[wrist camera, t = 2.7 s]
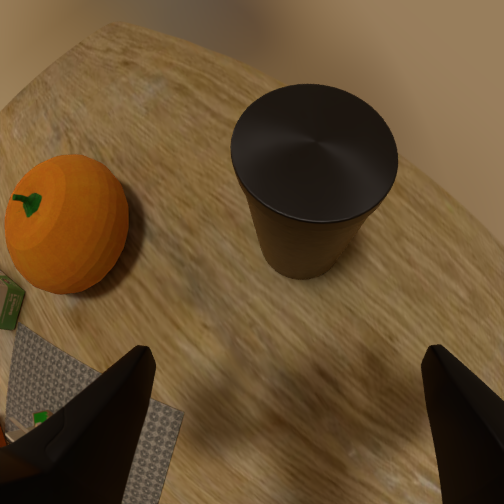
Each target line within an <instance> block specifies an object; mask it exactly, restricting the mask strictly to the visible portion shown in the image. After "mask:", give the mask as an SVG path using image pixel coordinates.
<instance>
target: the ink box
mask: <svg viewBox="0 0 504 504" xmlns="http://www.w3.org/2000/svg"><path fill="white" fill-rule="evenodd" d="M24 293H25V292H24V290H22V289H21V288H20V287H19V286H18V285H16V284H15V283H14V282H13V281H12V280H11V279H10V278H8V277H7V276H6V275H5V274H4V273H3V272H2V271H1V270H0V329H4V330H13V329H14V328H15V324H16V320H17V317H18V313H19V310H20V307H21V303H22V300H23V296H24Z"/></svg>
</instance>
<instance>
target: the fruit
mask: <svg viewBox="0 0 504 504" xmlns="http://www.w3.org/2000/svg"><path fill="white" fill-rule="evenodd" d="M128 229H129V215H128V203H127V200H126V197H125V194H124V191H123V188H122V186H121V184H120V182H119V181H118V180H117V179H116V177H115V176H114V175H113V174H112V173H111V171H110V170H109V169H108V168H107V167H106V166H105V165H103V164H102V163H100V162H98V161H96V160H93V159H91V158H89V157H86V156H84V155H61V156H56V157H54V158H51V159H49V160H46V161H44V162H42V163H40V164H38V165H37V166H35V167H34V168H33V169H31V170H30V171H29V172H28V173H27V174H25V175H24V177H23V178H22V179H21V180H20V182H19V183H18V184H17V186H16V188H15V189H14V191H13V193H12V195H11V197H10V200H9V203H8V206H7V209H6V216H5V237H6V244H7V248H8V251H9V253H10V256H11V258H12V261H13V263H14V265H15V267H16V269H17V270H18V271H19V272H20V274H21V275H22V276H23V277H24V278H25V279H26V280H27V281H28V282H29V283H31V284H32V285H33V286H35V287H37V288H39V289H42V290H45V291H48V292H51V293H54V294H69V293H75V292H81V291H84V290H86V289H87V288H89V287H91V286H92V285H94V284H96V283H98V282H99V281H101V280H102V279H103V278H104V276H105V275H106V274H107V273H108V272H109V271H110V270H111V269H112V268H113V267H114V265H115V264H116V262H117V260H118V258H119V256H120V254H121V252H122V250H123V249H124V245H125V241H126V237H127V233H128Z"/></svg>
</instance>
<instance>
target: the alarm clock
mask: <svg viewBox="0 0 504 504" xmlns="http://www.w3.org/2000/svg"><path fill="white" fill-rule="evenodd" d="M3 446H6V442H5V439H4V436H3V432H2V429H1V425H0V447H3Z"/></svg>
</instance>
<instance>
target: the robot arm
mask: <svg viewBox="0 0 504 504" xmlns="http://www.w3.org/2000/svg"><path fill="white" fill-rule="evenodd" d="M155 371H156V363H155V360H154V357H153V355H152V352H151V350H150V348H149V347H148V346H142V345H137V346H135V347H134V348H133V349H131V350H130V351H129V352H128V353H127V354H125V355H124V356H123V357H122V358H121V359H119V360H118V361H117V362H116V363H115V364H113V365H112V366H111V367H110V368H109V369H107V370H106V371H105V372H104V373H102V374H101V375H100V376H99V377H98V378H96V379H95V380H94V381H93V382H92V383H90V384H89V385H88V386H87V387H86V388H84V389H83V390H82V391H81V392H80V393H78V394H77V395H76V396H75V397H74V398H72V399H71V400H70V401H69V402H68V403H66V404H65V405H64V407H61V408H60V409H59V410H58V411H57V412H55V413H54V414H53V415H52V416H50V417H49V418H48V419H46V420H45V421H44V422H42V423H41V424H39V425H38V426H37V427H35V428H34V429H32V430H31V431H29V432H28V433H26V434H25V435H23V436H22V437H20V438H19V439H17V440H16V441H14V442H12V443H11V444H9V445H6V446H3V447H0V504H122V500H123V496H124V492H125V488H126V485H127V481H128V477H129V473H130V470H131V466H132V463H133V459H134V455H135V452H136V448H137V445H138V441H139V438H140V435H141V431H142V428H143V425H144V421H145V418H146V415H147V411H148V407H149V403H150V397H151V392H152V386H153V381H154V376H155ZM421 371H422V378H423V385H424V393H425V401H426V408H427V413H428V417H429V422H430V427H431V432H432V437H433V442H434V447H435V453H436V459H437V465H438V471H439V478H440V485H441V494H442V503H443V504H504V401H503V400H502V399H501V398H500V397H499V396H498V395H497V394H496V393H495V392H493V391H492V390H491V389H490V388H489V387H488V386H487V385H486V384H485V383H484V382H483V381H482V380H480V379H479V378H478V377H477V376H476V375H475V374H474V373H473V372H472V371H471V370H469V369H468V368H467V367H466V366H465V365H464V364H463V363H462V362H460V361H459V360H458V359H457V358H456V357H455V356H454V355H453V354H451V353H450V352H449V351H448V350H447V349H446V348H445V347H443V346H442V345H440V344H437V345H431V346H429V347H428V349H427V351H426V354H425V356H424V358H423V360H422V363H421Z"/></svg>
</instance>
